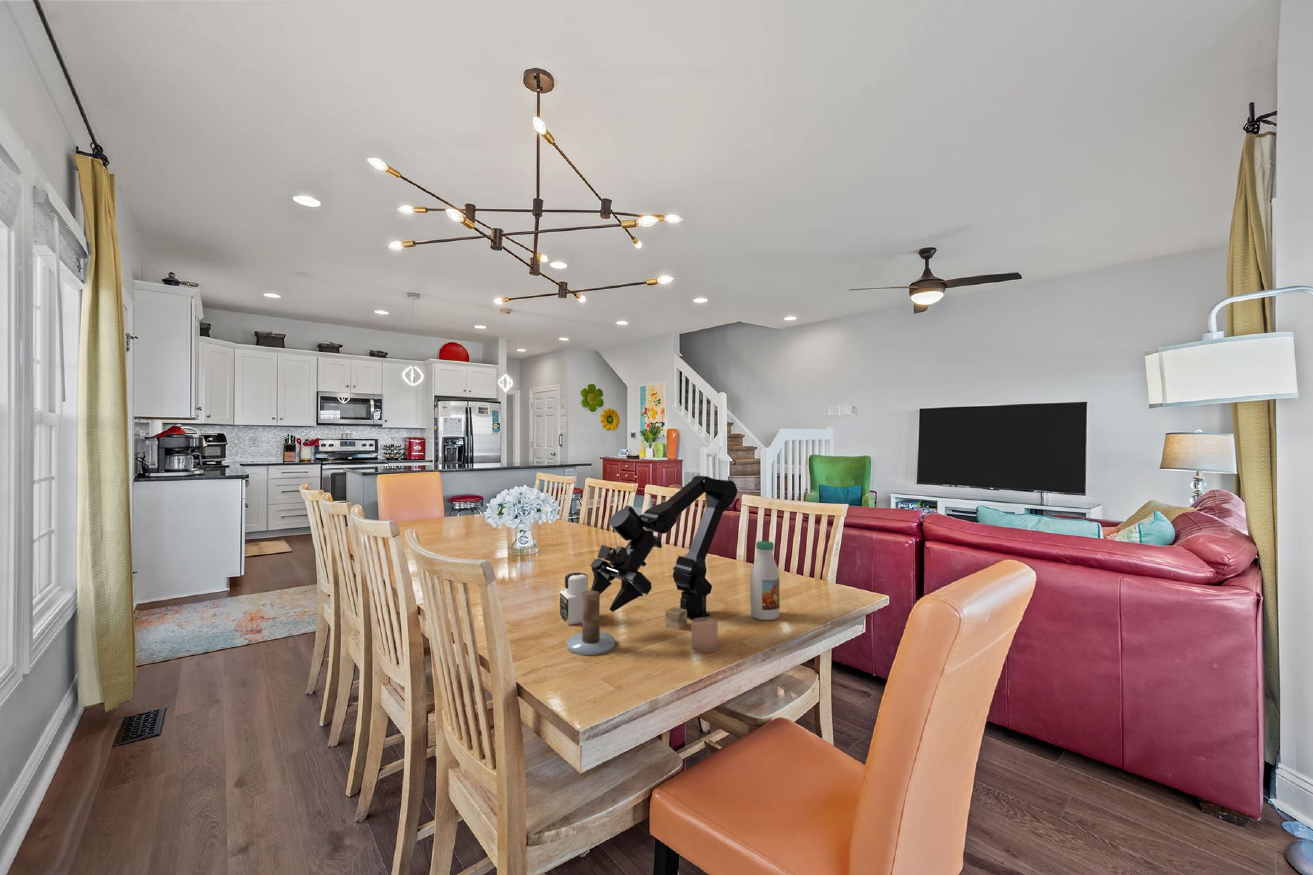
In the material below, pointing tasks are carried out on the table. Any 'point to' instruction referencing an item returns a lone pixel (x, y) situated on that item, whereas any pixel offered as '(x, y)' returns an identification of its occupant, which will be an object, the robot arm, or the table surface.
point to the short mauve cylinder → (704, 635)
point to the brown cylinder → (590, 617)
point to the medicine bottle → (573, 598)
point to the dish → (590, 645)
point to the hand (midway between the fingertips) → (599, 605)
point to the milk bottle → (765, 584)
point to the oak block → (676, 618)
